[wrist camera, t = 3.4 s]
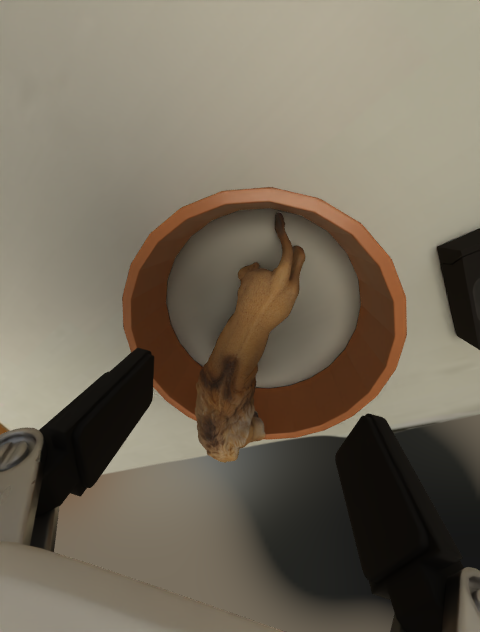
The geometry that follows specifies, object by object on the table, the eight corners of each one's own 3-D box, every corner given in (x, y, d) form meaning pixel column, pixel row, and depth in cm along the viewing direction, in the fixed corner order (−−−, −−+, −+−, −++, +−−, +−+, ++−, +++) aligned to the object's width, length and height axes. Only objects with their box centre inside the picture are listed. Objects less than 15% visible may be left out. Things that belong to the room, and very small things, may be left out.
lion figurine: (264, 381, 20) (258, 487, 12) (212, 368, 21) (173, 463, 13) (315, 220, 14) (372, 219, 6) (239, 204, 14) (194, 183, 6)
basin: (156, 366, 22) (126, 404, 17) (165, 173, 14) (116, 150, 10) (318, 411, 21) (330, 462, 16) (417, 232, 14) (488, 237, 9)
